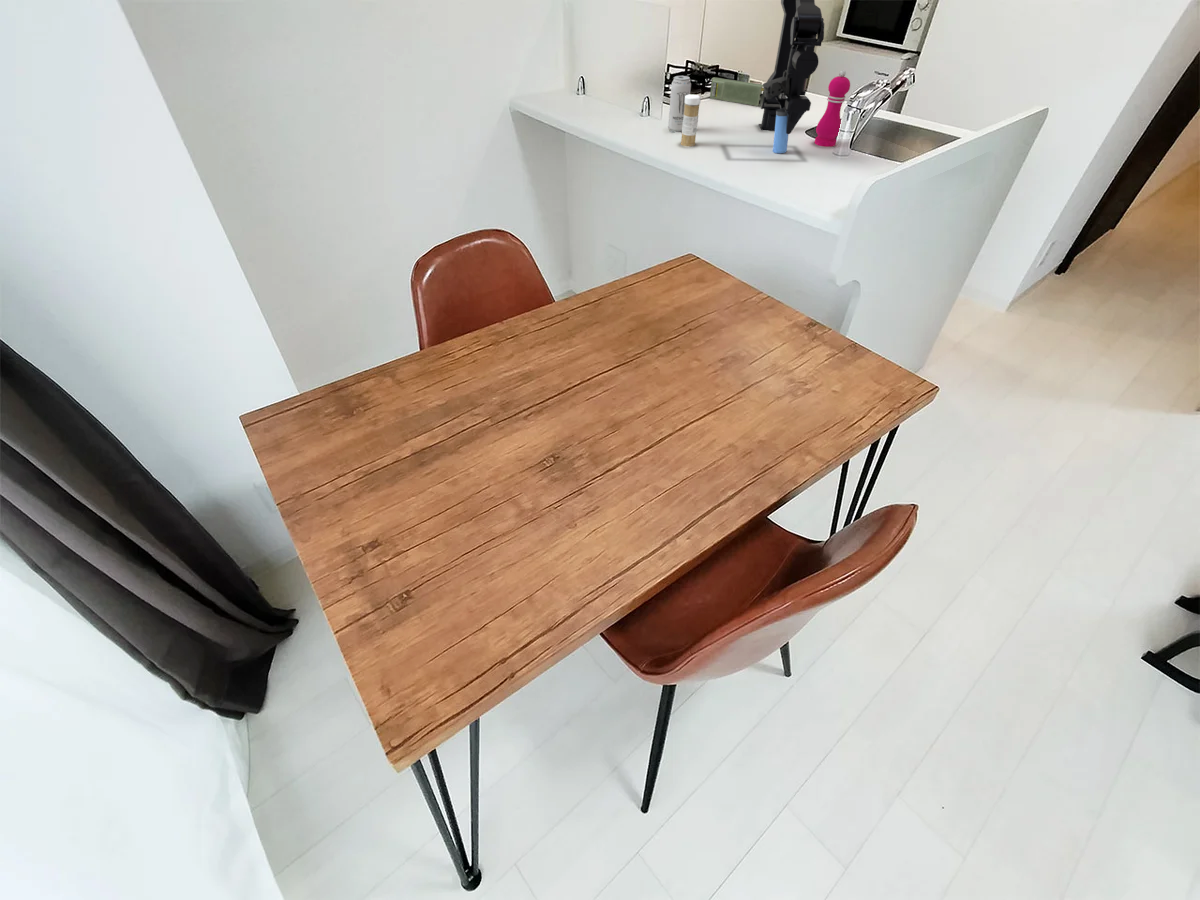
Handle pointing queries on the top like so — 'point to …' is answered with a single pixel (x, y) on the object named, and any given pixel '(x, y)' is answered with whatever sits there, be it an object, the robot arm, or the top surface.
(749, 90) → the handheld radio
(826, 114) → the pepper mill
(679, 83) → the energy drink can
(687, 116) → the sprinkles bottle
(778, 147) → the tube
